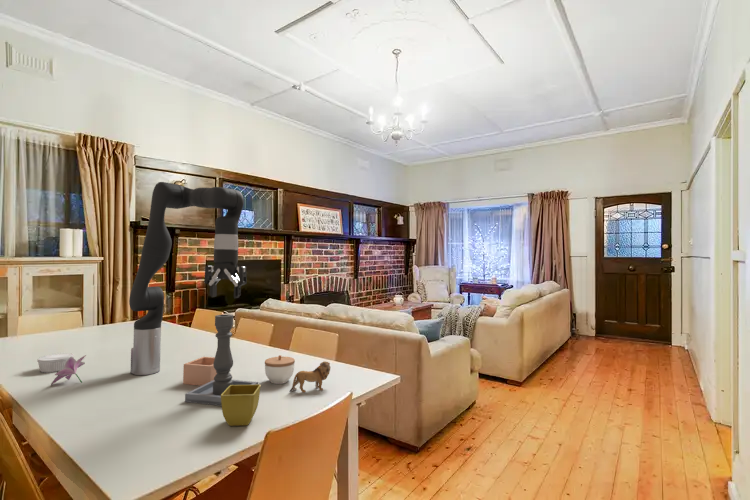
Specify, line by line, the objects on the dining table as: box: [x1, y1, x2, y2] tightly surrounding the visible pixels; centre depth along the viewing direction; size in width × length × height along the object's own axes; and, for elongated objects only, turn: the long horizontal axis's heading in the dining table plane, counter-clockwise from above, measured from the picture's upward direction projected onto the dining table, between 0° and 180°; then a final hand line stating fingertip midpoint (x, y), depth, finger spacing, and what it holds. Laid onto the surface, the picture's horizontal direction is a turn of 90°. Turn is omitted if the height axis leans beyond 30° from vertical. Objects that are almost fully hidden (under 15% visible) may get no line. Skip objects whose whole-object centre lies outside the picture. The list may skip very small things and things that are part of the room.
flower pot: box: [221, 384, 261, 427], centre depth 106 cm, size 9×9×9 cm
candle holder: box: [213, 313, 234, 395], centre depth 126 cm, size 6×6×25 cm
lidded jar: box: [264, 355, 296, 385], centre depth 141 cm, size 11×11×9 cm
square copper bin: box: [182, 356, 217, 387], centre depth 141 cm, size 11×11×7 cm
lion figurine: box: [289, 360, 331, 393], centre depth 132 cm, size 15×5×9 cm, turn 121°
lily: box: [50, 354, 87, 386], centre depth 137 cm, size 12×12×10 cm
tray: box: [184, 379, 259, 407], centre depth 126 cm, size 16×16×2 cm
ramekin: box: [37, 352, 75, 373], centre depth 152 cm, size 11×11×5 cm
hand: (225, 297), depth 127 cm, fingers open, 8 cm apart
